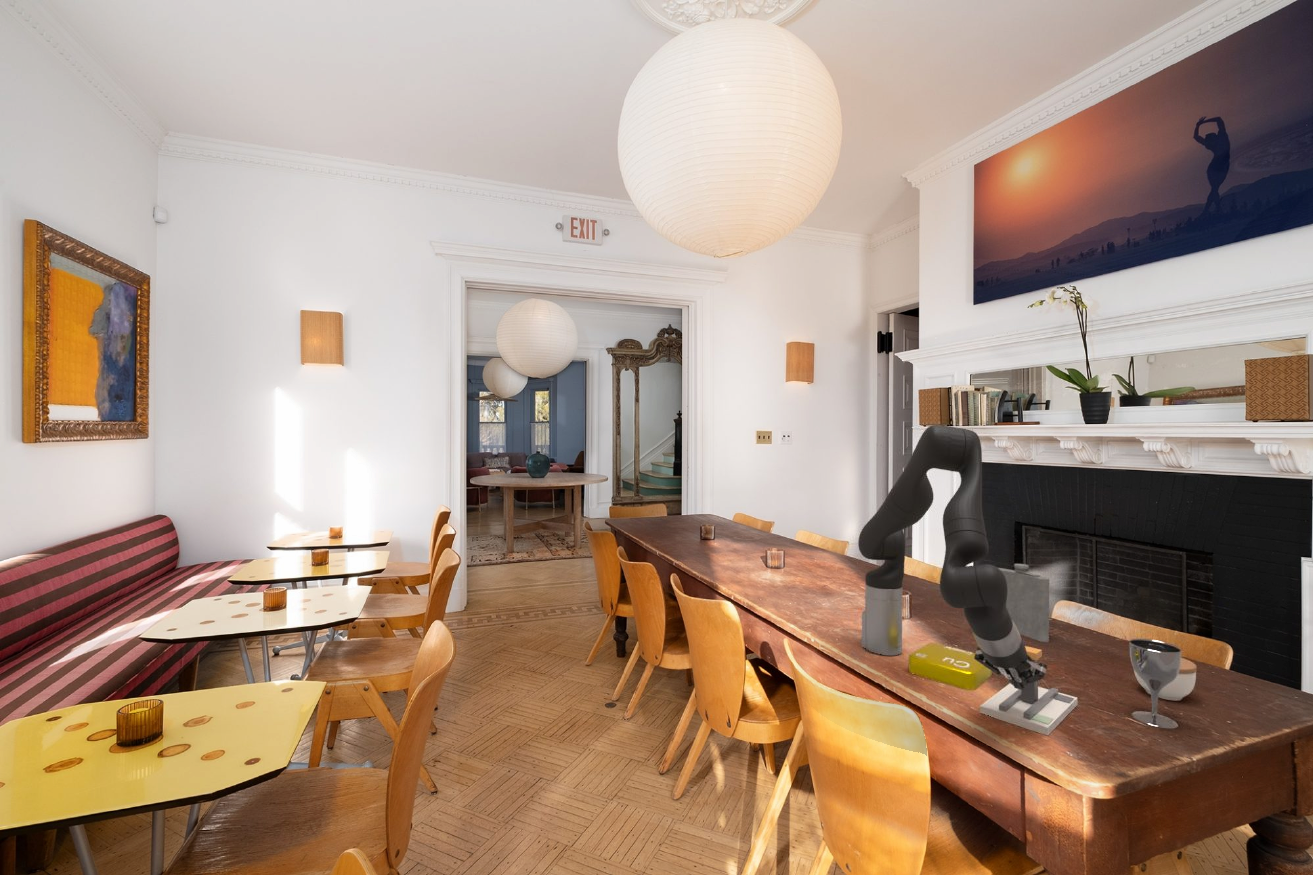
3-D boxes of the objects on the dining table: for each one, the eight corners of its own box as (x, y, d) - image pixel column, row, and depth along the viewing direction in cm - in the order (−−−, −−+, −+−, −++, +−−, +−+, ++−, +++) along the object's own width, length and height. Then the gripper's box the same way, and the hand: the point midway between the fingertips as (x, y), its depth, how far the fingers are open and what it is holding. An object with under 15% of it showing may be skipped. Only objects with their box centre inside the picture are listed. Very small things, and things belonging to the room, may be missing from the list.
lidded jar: (1120, 683, 135) (1120, 643, 135) (1168, 684, 135) (1168, 644, 135) (1158, 704, 125) (1159, 660, 125) (1210, 706, 124) (1210, 661, 124)
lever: (1017, 699, 122) (1017, 649, 122) (1023, 695, 125) (1023, 645, 125) (1036, 705, 120) (1036, 653, 120) (1041, 700, 122) (1041, 649, 122)
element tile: (994, 675, 141) (994, 655, 141) (972, 693, 131) (973, 672, 131) (929, 658, 152) (929, 639, 152) (905, 673, 141) (905, 654, 141)
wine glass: (1118, 711, 122) (1119, 638, 122) (1154, 709, 122) (1154, 638, 122) (1154, 730, 114) (1155, 652, 114) (1192, 728, 114) (1192, 651, 114)
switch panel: (980, 713, 120) (980, 700, 120) (1014, 686, 133) (1014, 675, 133) (1047, 735, 111) (1047, 722, 111) (1077, 704, 124) (1077, 693, 124)
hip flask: (990, 626, 177) (990, 559, 177) (998, 624, 179) (999, 558, 179) (1044, 642, 163) (1044, 570, 163) (1053, 640, 164) (1053, 569, 164)
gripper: (1042, 629, 108) (1062, 678, 115) (966, 613, 118) (990, 659, 126) (1032, 665, 104) (1054, 713, 112) (955, 645, 114) (980, 691, 122)
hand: (1020, 685), depth 119 cm, fingers closed
